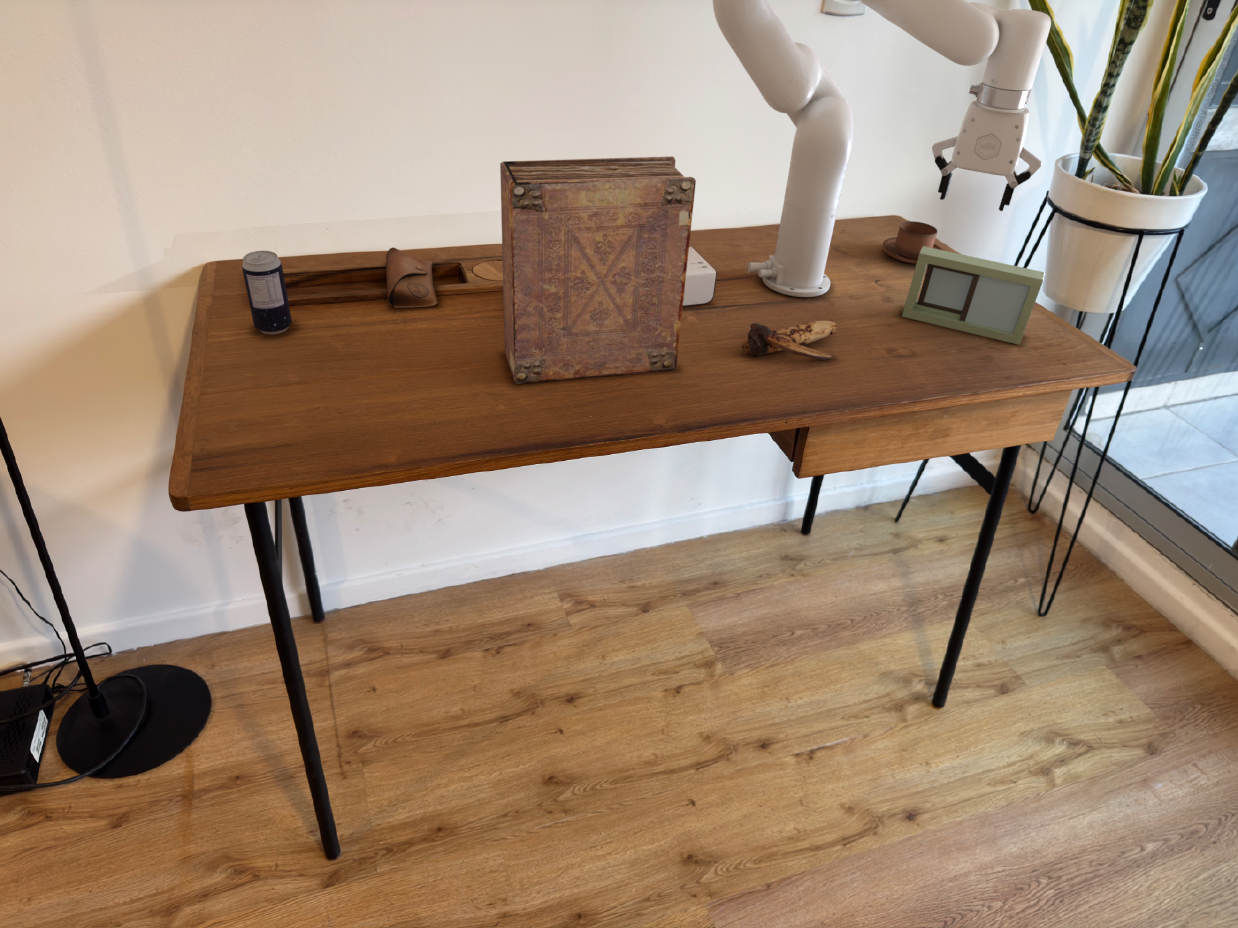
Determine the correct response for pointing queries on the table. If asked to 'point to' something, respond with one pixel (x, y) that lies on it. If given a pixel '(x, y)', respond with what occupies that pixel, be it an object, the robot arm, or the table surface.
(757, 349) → the bone fish hook
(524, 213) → the book
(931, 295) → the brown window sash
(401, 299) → the sunglasses case
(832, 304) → the table surface
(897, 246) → the cup and saucer
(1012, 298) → the window frame
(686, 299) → the laminator
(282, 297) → the beverage can
